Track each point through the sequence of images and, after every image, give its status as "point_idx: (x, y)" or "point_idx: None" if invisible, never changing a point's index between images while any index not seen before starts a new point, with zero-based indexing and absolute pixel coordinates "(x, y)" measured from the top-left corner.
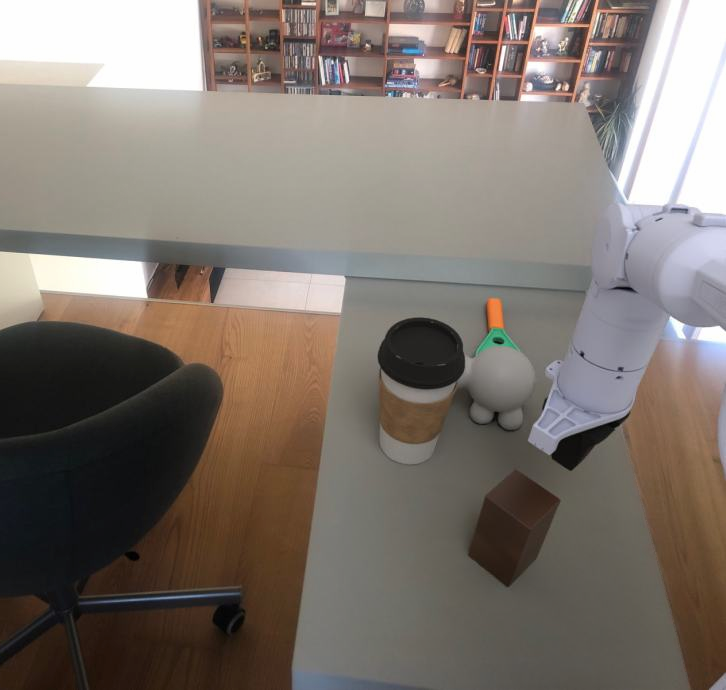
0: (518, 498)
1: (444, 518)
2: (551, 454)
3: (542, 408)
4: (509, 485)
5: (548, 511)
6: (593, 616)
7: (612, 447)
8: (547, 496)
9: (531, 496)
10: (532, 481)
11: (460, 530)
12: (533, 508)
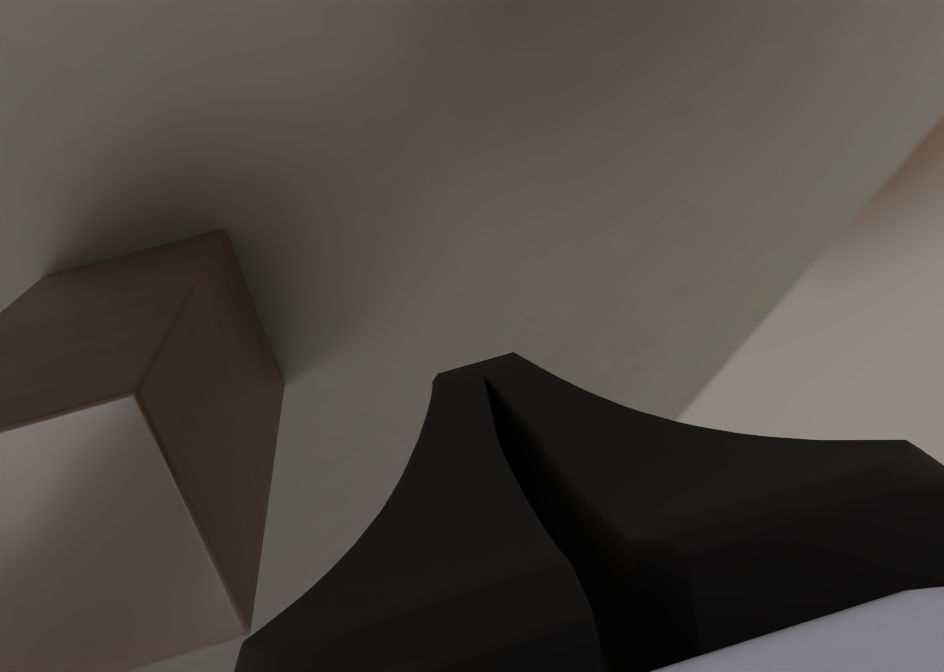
0: (13, 564)
1: (34, 89)
2: (435, 382)
3: (244, 655)
4: (8, 480)
5: (135, 666)
6: (315, 582)
7: (903, 131)
8: (192, 601)
9: (99, 578)
10: (175, 502)
11: (74, 173)
12: (61, 636)
